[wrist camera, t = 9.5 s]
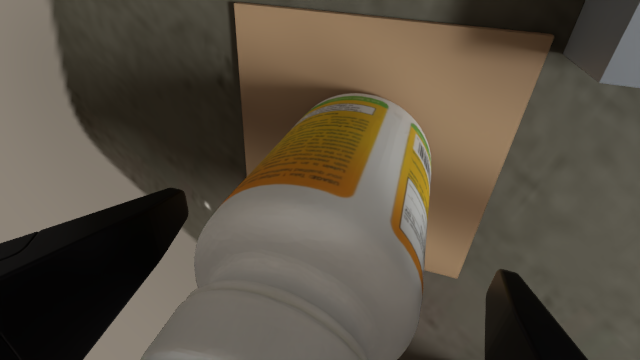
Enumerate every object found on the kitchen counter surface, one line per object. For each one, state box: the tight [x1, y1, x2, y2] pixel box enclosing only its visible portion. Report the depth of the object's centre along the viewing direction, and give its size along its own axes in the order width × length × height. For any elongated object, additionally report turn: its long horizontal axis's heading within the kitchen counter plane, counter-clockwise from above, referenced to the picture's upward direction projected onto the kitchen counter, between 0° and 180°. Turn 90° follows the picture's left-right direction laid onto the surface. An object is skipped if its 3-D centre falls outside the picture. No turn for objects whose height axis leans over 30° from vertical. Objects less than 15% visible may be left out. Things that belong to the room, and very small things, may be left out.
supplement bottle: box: [141, 93, 431, 360], centre depth 10 cm, size 5×5×10 cm
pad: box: [234, 2, 555, 278], centre depth 14 cm, size 10×10×1 cm
